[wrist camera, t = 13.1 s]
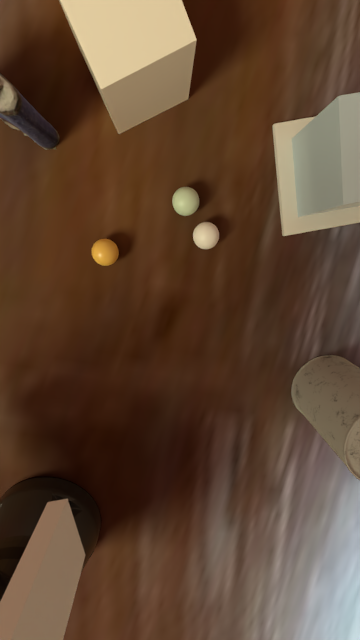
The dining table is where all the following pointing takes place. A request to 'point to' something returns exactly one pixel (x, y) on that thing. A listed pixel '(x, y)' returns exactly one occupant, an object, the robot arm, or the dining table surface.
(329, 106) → the pale sage cube
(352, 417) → the speckled beige cylinder
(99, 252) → the amber marble
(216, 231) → the white marble
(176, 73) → the beige rectangular block
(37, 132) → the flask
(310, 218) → the mat
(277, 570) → the dining table surface
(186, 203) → the green marble
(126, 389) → the dining table surface
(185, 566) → the dining table surface
